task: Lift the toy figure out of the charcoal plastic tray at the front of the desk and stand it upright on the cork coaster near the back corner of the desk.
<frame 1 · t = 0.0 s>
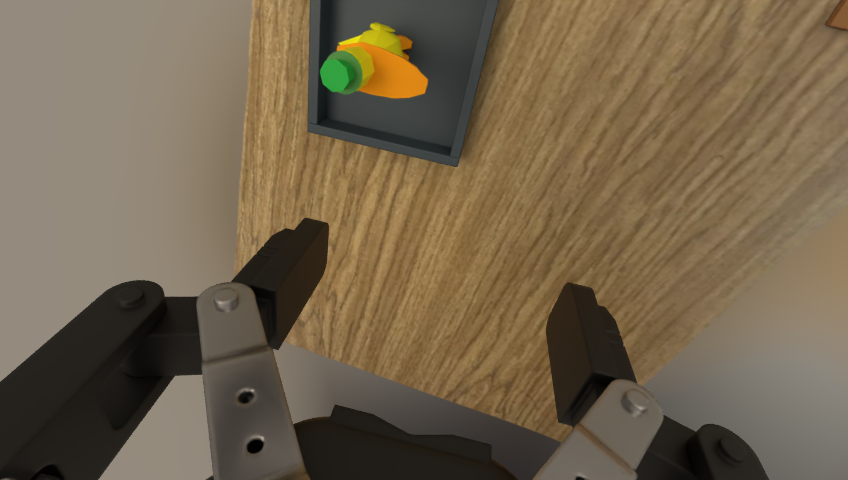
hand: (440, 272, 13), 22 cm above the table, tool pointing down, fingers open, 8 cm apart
tray: (401, 49, 30), on the table
toy figure: (400, 49, 30), resting on tray
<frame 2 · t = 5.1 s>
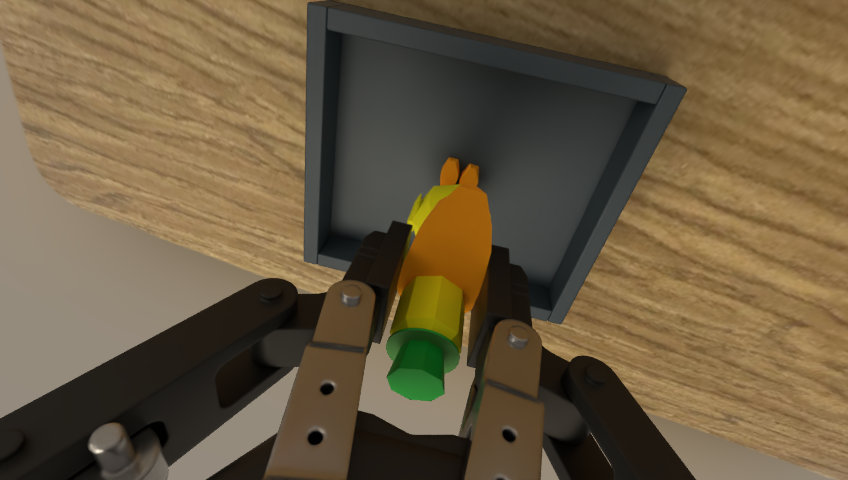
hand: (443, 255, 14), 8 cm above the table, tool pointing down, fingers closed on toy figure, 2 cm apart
tray: (460, 172, 20), on the table
toy figure: (460, 173, 20), resting on tray, touching gripper
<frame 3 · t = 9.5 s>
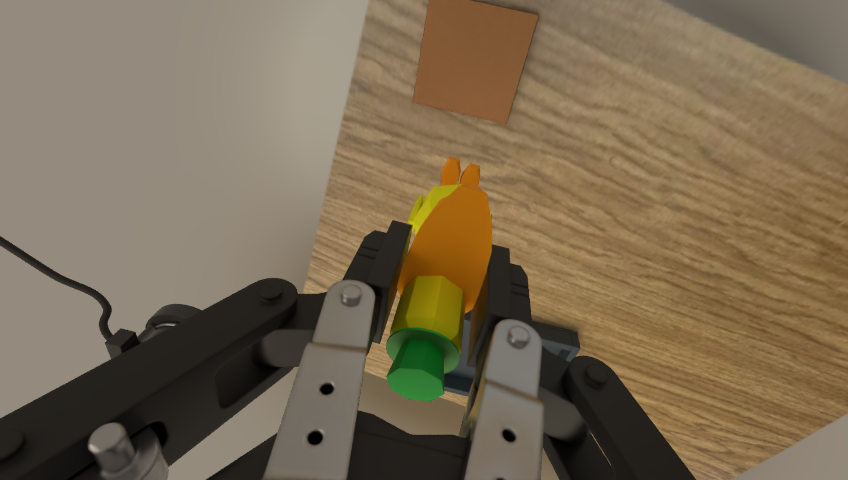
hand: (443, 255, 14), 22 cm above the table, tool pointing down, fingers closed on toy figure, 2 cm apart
coaster: (471, 61, 31), on the table
tray: (497, 352, 48), on the table
toy figure: (461, 174, 20), point 15 cm above the table, touching gripper
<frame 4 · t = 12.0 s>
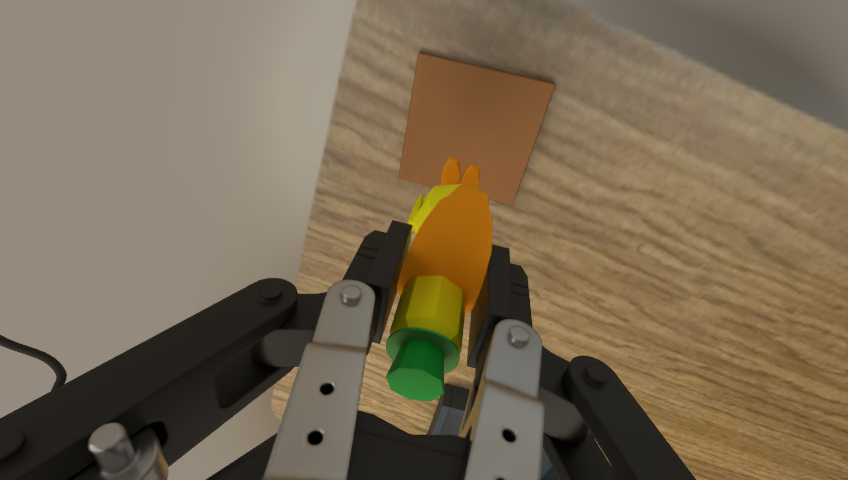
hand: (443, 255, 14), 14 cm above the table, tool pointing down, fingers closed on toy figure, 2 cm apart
coaster: (469, 133, 25), on the table
tray: (499, 436, 42), on the table
toy figure: (461, 173, 20), point 6 cm above the table, touching gripper
when the fingers open (8 cm above the table, at t = 13.9 s): toy figure stays where it is, resting on coaster.
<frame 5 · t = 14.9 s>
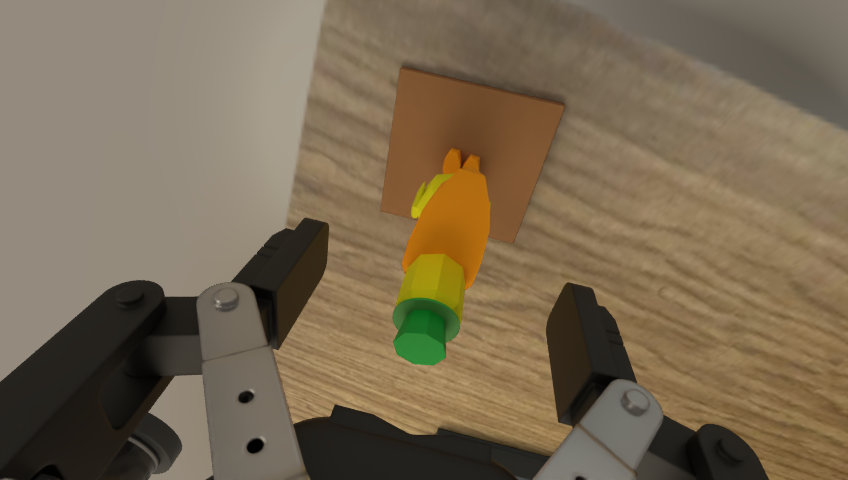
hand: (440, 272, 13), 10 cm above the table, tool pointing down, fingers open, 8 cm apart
coaster: (463, 161, 21), on the table
toy figure: (462, 164, 21), resting on coaster
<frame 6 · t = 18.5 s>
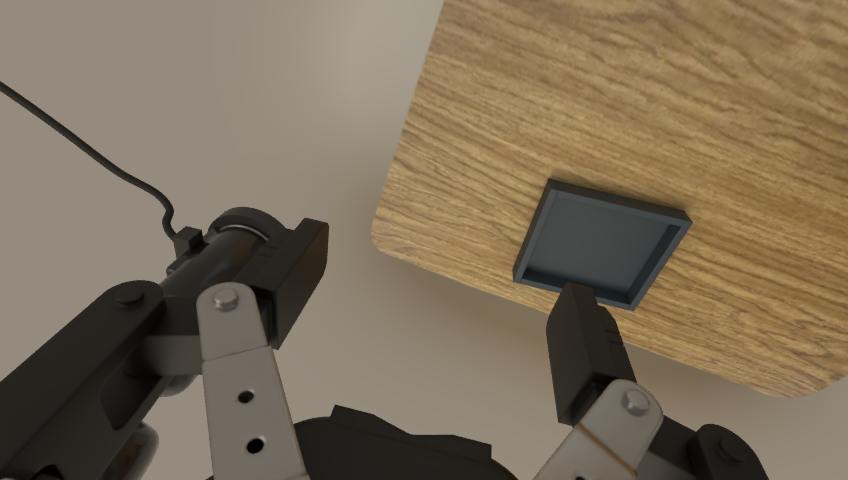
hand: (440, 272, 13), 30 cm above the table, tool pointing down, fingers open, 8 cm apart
tray: (591, 242, 46), on the table
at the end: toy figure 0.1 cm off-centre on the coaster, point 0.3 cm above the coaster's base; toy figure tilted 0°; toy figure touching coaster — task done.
